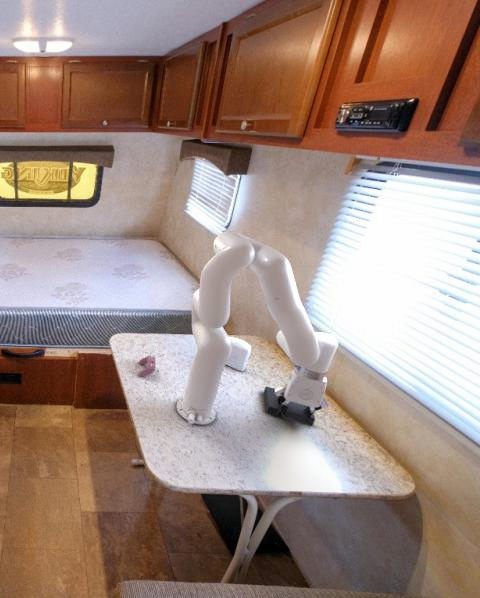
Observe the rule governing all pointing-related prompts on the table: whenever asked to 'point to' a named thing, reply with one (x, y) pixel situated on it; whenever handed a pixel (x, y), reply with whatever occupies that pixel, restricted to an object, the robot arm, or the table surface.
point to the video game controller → (148, 365)
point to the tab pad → (295, 412)
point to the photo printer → (238, 354)
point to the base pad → (278, 404)
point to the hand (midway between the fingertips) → (293, 415)
